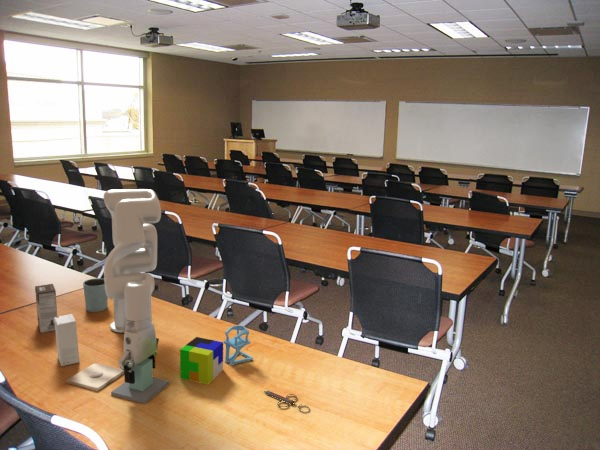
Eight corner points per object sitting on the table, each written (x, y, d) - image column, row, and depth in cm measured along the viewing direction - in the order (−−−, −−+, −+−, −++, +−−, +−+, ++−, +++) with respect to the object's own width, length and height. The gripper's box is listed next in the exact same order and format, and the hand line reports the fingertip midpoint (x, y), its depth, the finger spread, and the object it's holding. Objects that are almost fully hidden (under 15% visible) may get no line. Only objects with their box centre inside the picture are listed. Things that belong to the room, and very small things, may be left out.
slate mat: (137, 376, 155) (137, 372, 155) (169, 383, 151) (169, 380, 151) (111, 394, 144) (111, 391, 144) (144, 403, 140) (144, 400, 140)
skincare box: (79, 362, 162) (77, 321, 159) (60, 367, 159) (57, 324, 156) (75, 352, 169) (73, 312, 166) (56, 356, 166) (53, 316, 163)
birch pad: (95, 365, 161) (94, 362, 160) (124, 372, 157) (124, 369, 157) (66, 382, 150) (66, 379, 149) (97, 391, 146) (97, 387, 145)
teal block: (139, 380, 151) (138, 356, 149) (153, 383, 149) (152, 359, 147) (128, 387, 146) (127, 363, 144) (142, 391, 144) (141, 366, 143)
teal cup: (92, 303, 214) (91, 277, 212) (114, 305, 213) (113, 279, 210) (79, 311, 204) (77, 284, 202) (102, 313, 203) (100, 286, 201)
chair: (220, 360, 168) (220, 328, 165) (238, 352, 174) (239, 321, 171) (234, 368, 162) (234, 335, 160) (253, 359, 168) (253, 327, 166)
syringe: (267, 386, 153) (267, 381, 152) (315, 406, 143) (315, 401, 143) (251, 397, 146) (251, 392, 146) (300, 419, 137) (301, 413, 136)
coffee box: (37, 324, 190) (34, 285, 187) (55, 321, 194) (52, 283, 191) (40, 333, 183) (37, 293, 180) (59, 329, 187) (56, 290, 183)
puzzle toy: (223, 370, 161) (223, 342, 159) (207, 384, 152) (207, 355, 150) (196, 364, 164) (196, 336, 162) (180, 378, 155) (179, 349, 153)
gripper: (129, 335, 134) (131, 391, 137) (166, 313, 150) (167, 364, 153) (107, 331, 136) (110, 386, 140) (146, 310, 152) (148, 360, 156)
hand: (140, 374), depth 147 cm, fingers open, 9 cm apart
